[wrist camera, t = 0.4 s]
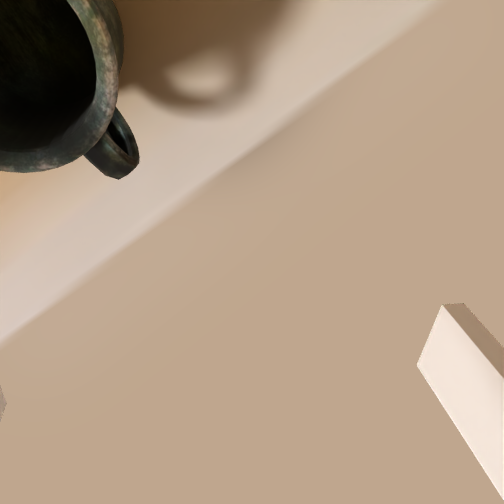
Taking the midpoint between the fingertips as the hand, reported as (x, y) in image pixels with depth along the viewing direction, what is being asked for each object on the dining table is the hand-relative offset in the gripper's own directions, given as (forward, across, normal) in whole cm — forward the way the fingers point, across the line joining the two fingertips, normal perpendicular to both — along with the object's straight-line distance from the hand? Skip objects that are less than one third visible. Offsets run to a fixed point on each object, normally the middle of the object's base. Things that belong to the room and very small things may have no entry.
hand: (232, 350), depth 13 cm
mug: (+26, -8, +4) cm, 28 cm away
